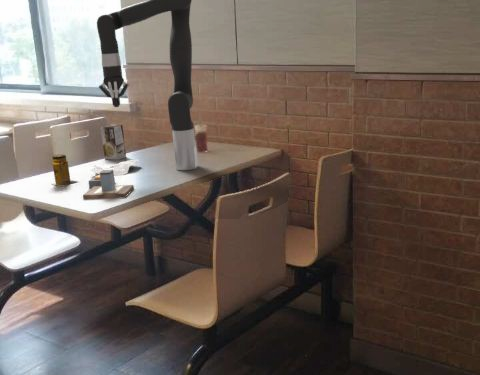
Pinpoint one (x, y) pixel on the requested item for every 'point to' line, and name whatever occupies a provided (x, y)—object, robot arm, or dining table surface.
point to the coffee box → (113, 142)
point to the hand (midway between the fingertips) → (116, 106)
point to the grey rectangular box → (107, 180)
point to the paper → (117, 168)
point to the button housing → (94, 182)
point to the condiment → (61, 171)
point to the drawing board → (108, 192)
